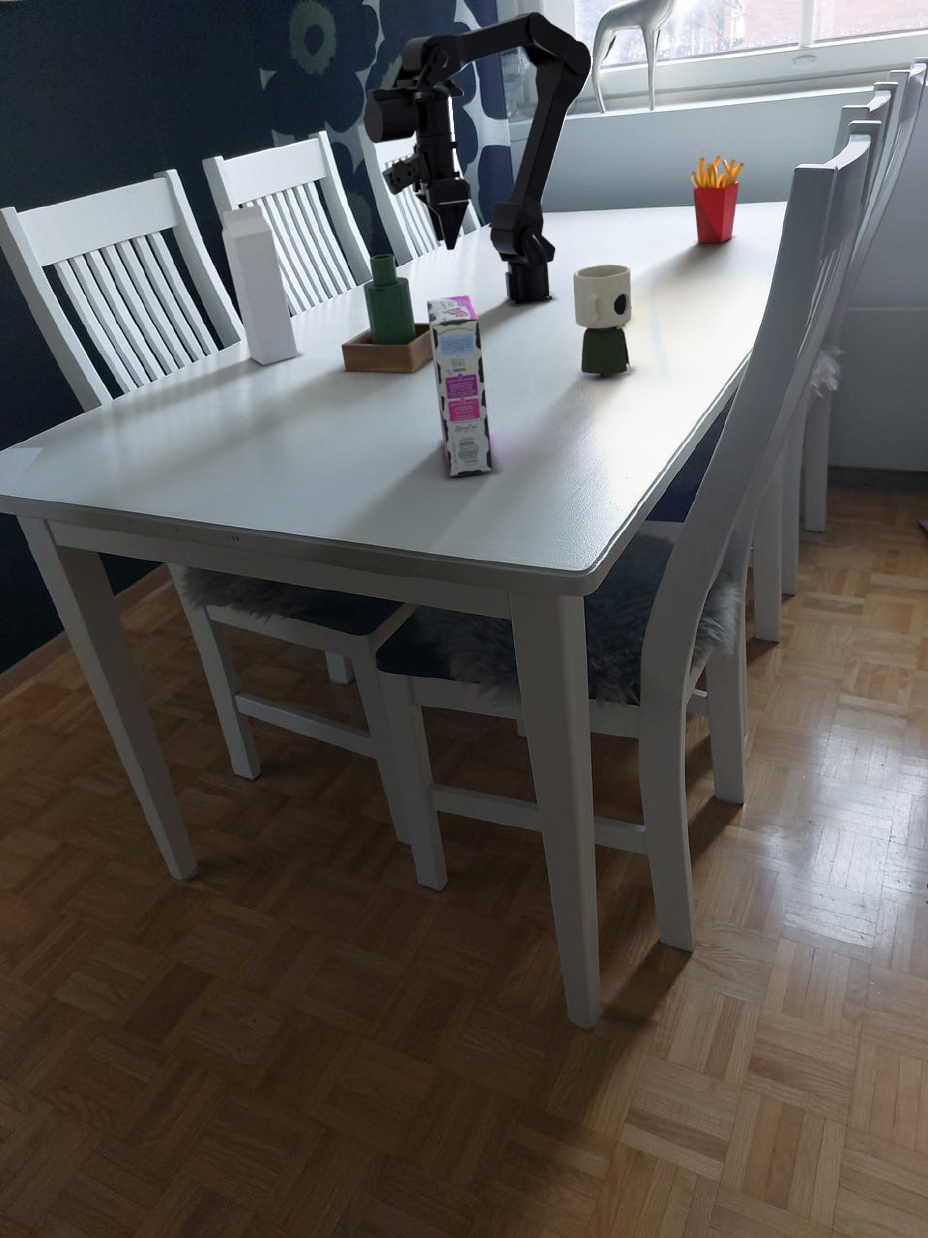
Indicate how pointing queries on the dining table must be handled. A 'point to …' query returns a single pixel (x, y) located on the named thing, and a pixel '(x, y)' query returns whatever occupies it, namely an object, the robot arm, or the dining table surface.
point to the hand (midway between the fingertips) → (445, 244)
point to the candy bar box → (460, 384)
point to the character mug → (603, 317)
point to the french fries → (715, 200)
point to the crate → (388, 353)
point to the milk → (258, 285)
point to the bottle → (389, 304)
